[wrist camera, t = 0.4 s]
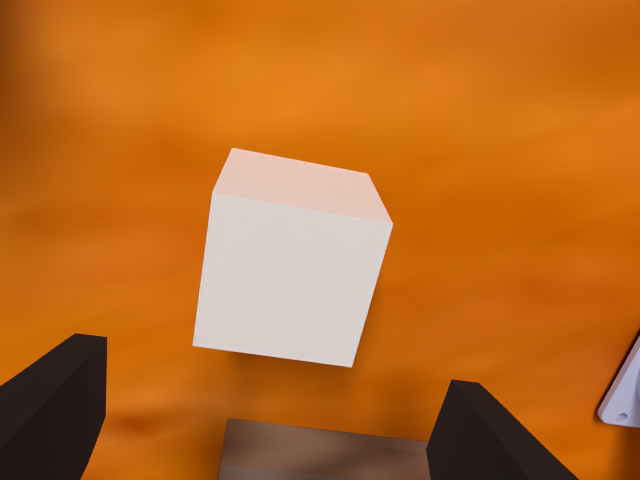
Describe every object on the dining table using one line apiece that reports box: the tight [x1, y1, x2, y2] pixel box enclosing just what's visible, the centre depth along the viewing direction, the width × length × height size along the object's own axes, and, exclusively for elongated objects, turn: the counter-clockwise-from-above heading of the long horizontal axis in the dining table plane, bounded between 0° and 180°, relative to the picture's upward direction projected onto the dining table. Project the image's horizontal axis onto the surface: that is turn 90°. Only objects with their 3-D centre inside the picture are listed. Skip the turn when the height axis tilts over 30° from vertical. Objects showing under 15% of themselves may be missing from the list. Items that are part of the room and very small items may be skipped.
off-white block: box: [193, 148, 393, 367], centre depth 17 cm, size 5×5×5 cm
